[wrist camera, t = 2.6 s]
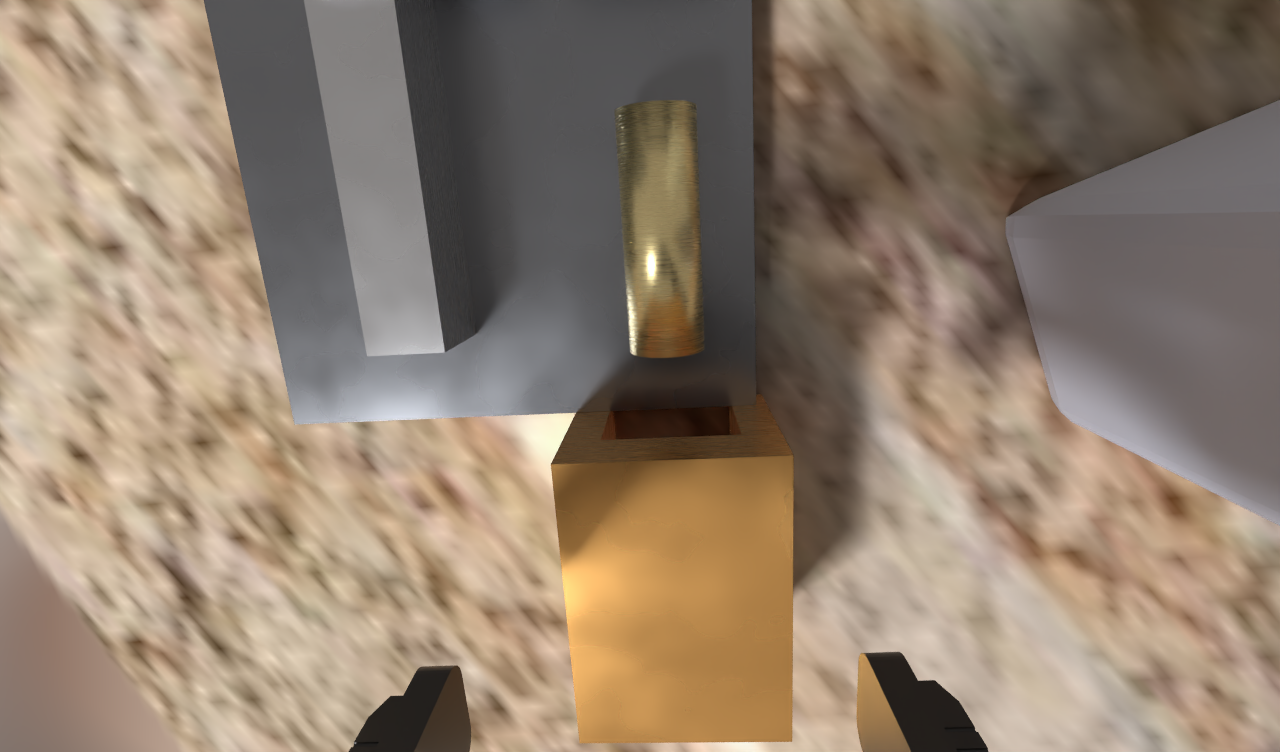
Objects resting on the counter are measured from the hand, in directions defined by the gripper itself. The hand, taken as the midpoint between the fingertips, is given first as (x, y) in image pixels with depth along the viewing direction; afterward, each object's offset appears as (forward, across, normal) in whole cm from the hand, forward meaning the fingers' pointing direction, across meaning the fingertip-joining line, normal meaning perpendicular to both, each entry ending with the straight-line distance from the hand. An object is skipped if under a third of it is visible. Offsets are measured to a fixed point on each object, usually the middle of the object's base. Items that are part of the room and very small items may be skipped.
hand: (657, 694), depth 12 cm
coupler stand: (+8, +4, -12) cm, 15 cm away
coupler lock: (+8, -1, 0) cm, 8 cm away
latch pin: (+7, -1, -9) cm, 11 cm away
